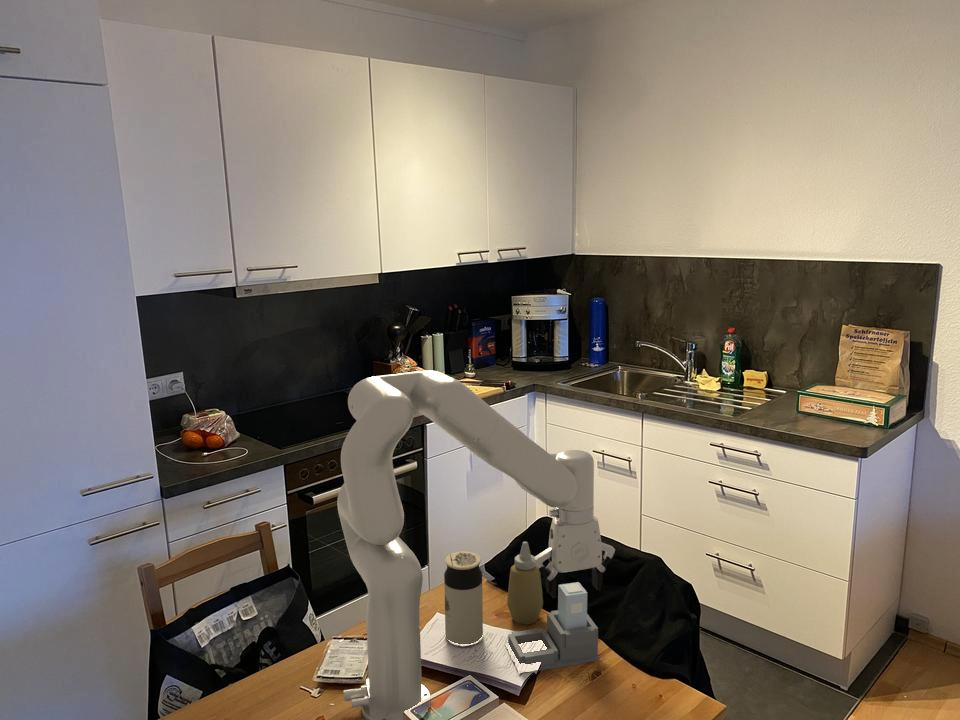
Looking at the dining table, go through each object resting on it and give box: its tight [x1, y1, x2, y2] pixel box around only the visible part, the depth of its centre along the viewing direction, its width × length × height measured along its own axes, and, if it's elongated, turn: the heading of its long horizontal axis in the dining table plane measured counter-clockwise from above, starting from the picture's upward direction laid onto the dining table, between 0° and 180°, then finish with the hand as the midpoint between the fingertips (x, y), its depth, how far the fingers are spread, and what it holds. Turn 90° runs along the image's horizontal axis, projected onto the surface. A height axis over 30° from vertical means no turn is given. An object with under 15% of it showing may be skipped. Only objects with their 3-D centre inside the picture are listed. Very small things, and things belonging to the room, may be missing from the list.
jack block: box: [507, 609, 600, 672], centre depth 145 cm, size 17×10×6 cm, turn 104°
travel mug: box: [443, 550, 484, 644], centre depth 150 cm, size 8×8×18 cm
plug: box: [557, 581, 588, 631], centre depth 145 cm, size 4×5×10 cm
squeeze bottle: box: [506, 541, 544, 625], centre depth 157 cm, size 8×8×18 cm
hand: (574, 591), depth 145 cm, fingers open, 9 cm apart
